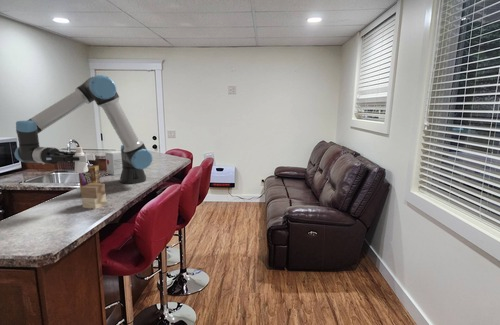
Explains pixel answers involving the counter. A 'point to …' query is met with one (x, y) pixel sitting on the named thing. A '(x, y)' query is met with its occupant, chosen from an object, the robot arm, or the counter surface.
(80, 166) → the salt shaker
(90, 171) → the candy box
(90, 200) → the tower bottom
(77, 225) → the counter surface
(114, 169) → the supplement box
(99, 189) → the tower top
